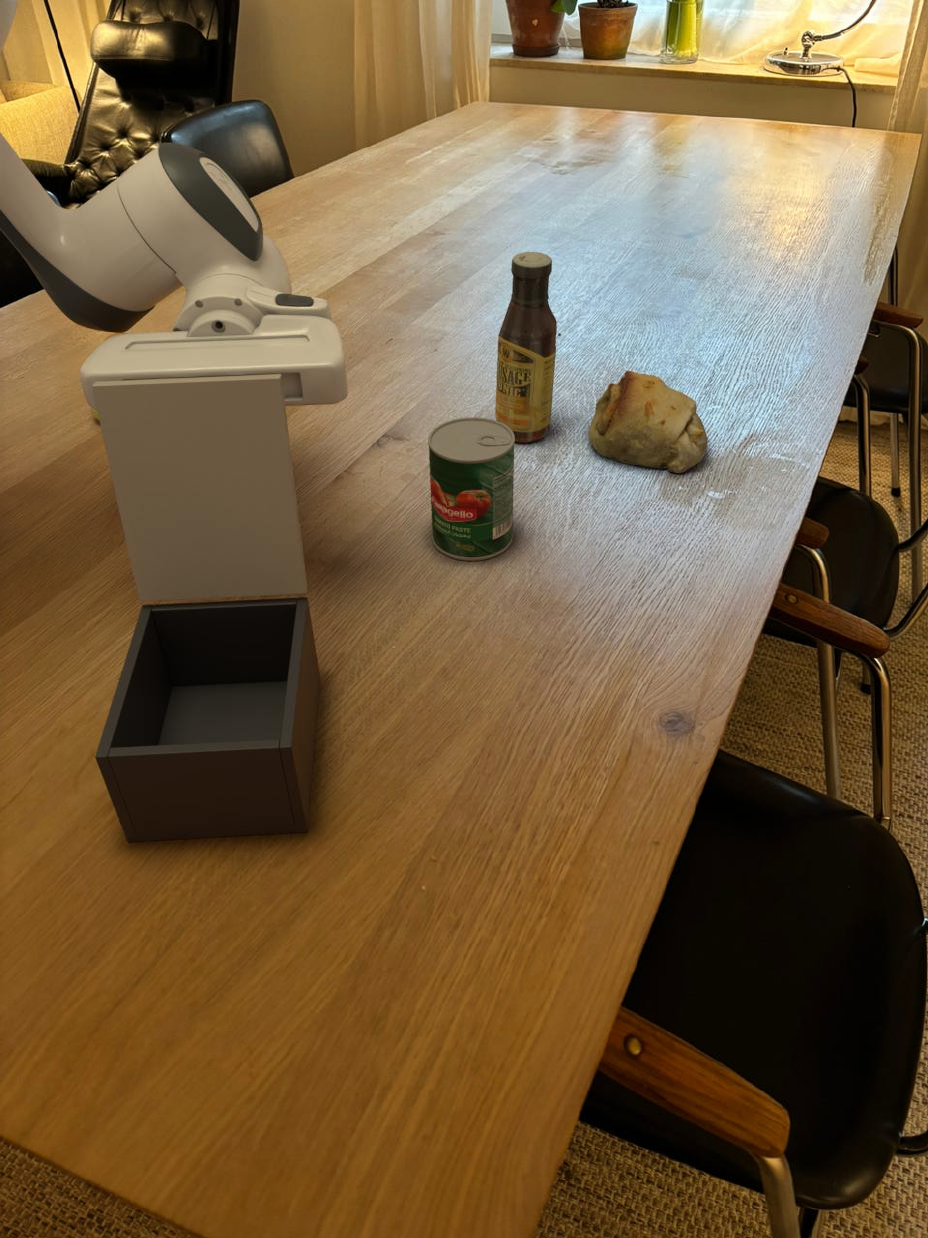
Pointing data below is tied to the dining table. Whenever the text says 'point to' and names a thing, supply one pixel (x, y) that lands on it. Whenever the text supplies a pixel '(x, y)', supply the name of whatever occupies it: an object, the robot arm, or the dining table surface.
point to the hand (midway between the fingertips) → (204, 419)
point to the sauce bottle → (527, 351)
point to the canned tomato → (472, 487)
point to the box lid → (204, 485)
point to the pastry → (648, 425)
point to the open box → (214, 721)
